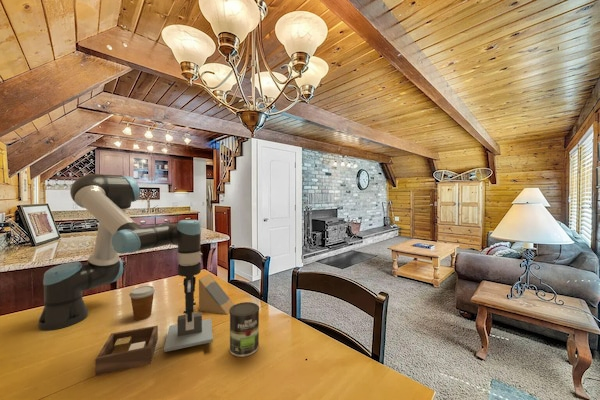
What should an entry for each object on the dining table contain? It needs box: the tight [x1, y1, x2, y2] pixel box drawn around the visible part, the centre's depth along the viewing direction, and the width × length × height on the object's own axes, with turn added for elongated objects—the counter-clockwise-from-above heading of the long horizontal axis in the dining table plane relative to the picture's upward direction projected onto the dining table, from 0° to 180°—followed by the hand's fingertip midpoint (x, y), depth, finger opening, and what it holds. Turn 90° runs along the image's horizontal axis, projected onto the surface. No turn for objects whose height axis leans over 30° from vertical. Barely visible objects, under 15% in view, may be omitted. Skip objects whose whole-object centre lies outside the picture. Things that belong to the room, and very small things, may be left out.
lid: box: [163, 311, 214, 353], centre depth 90 cm, size 15×15×7 cm
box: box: [94, 325, 159, 377], centre depth 81 cm, size 14×14×6 cm
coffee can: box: [229, 301, 260, 358], centre depth 87 cm, size 10×10×14 cm
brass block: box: [114, 336, 132, 353], centre depth 82 cm, size 4×4×4 cm
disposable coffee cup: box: [128, 285, 156, 321], centre depth 108 cm, size 10×10×12 cm
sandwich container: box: [198, 273, 236, 316], centre depth 116 cm, size 9×15×15 cm, turn 75°
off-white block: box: [128, 341, 146, 351], centre depth 80 cm, size 4×4×4 cm
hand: (190, 326), depth 90 cm, fingers closed on lid, 3 cm apart
